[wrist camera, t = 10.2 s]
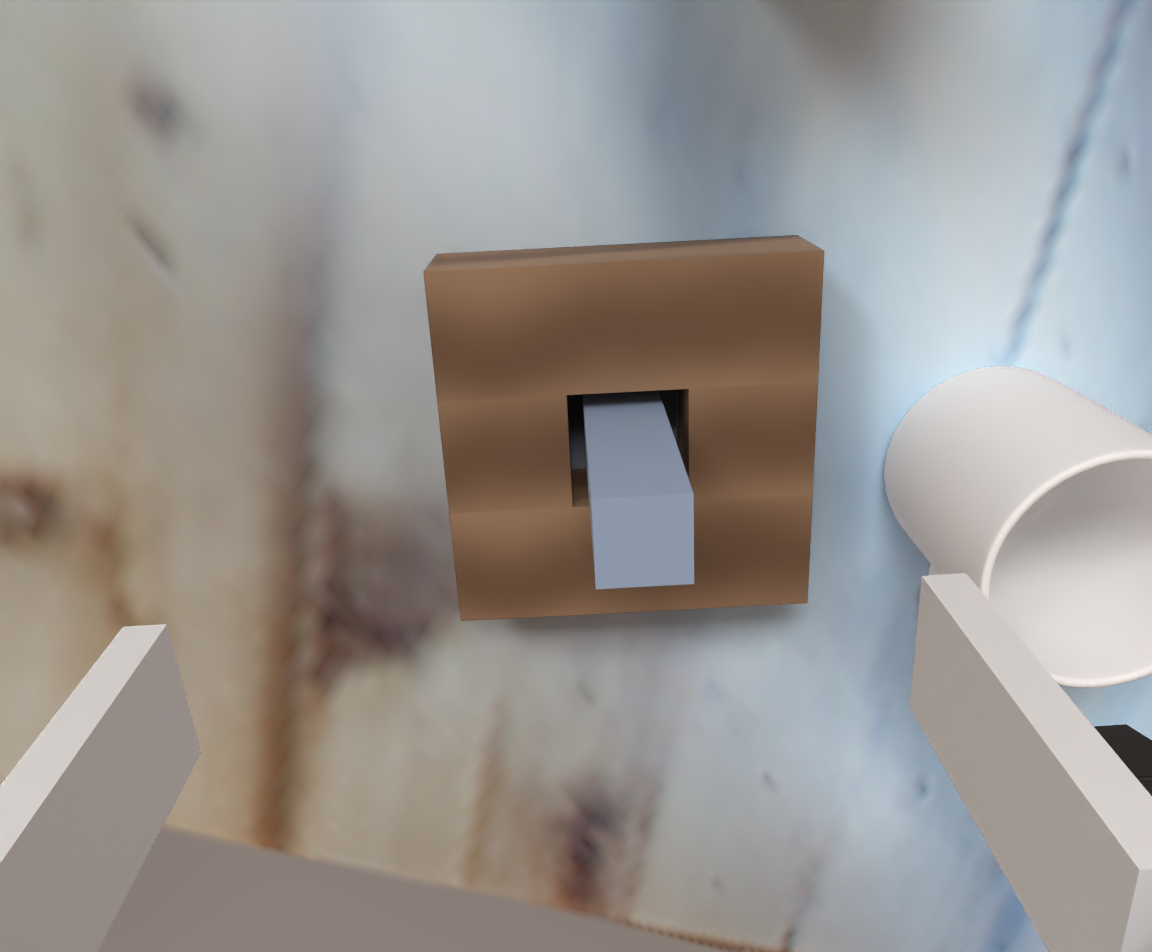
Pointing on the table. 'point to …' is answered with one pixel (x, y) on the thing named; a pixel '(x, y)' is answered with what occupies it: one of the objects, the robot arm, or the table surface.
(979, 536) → the mug
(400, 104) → the table surface
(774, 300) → the socket block
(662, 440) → the peg
